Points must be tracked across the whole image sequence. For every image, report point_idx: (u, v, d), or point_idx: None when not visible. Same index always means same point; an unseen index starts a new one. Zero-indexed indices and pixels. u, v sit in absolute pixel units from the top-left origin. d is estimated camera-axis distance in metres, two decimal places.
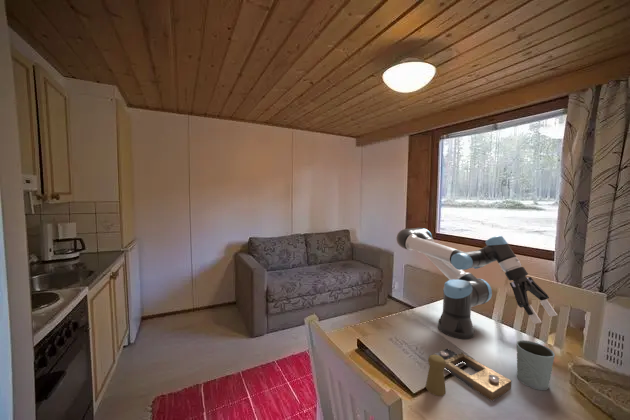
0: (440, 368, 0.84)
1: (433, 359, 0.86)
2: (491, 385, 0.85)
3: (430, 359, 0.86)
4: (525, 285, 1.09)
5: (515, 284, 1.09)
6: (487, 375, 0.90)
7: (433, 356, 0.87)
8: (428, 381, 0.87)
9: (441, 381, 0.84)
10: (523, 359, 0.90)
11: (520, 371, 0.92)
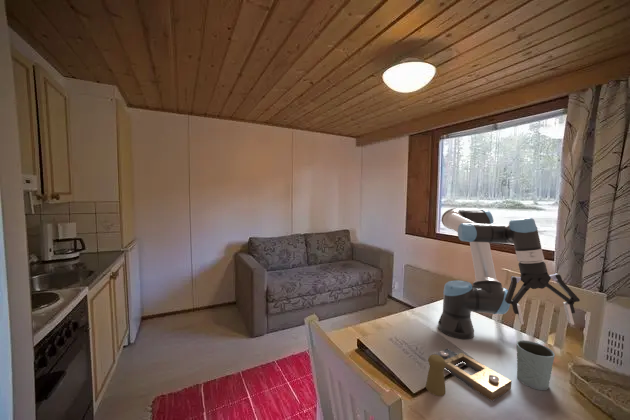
0: (440, 368, 0.84)
1: (433, 359, 0.86)
2: (491, 385, 0.85)
3: (430, 359, 0.86)
4: (529, 284, 0.92)
5: (512, 280, 0.95)
6: (487, 375, 0.90)
7: (433, 356, 0.87)
8: (428, 381, 0.87)
9: (441, 381, 0.84)
10: (523, 359, 0.90)
11: (520, 371, 0.92)
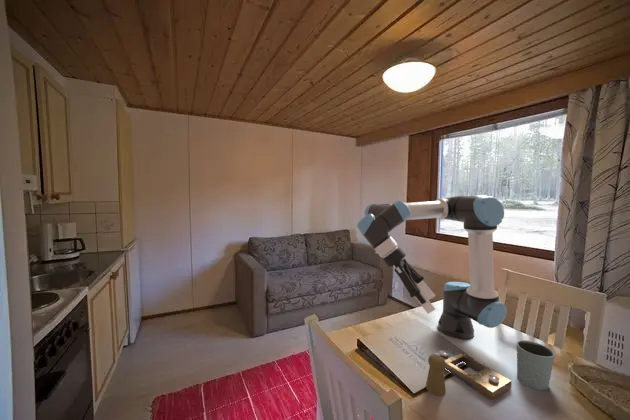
0: (440, 368, 0.84)
1: (433, 358, 0.86)
2: (491, 385, 0.85)
3: (430, 359, 0.86)
4: None
5: None
6: (487, 375, 0.90)
7: (433, 356, 0.87)
8: (428, 381, 0.87)
9: (441, 381, 0.84)
10: (523, 359, 0.90)
11: (520, 371, 0.92)
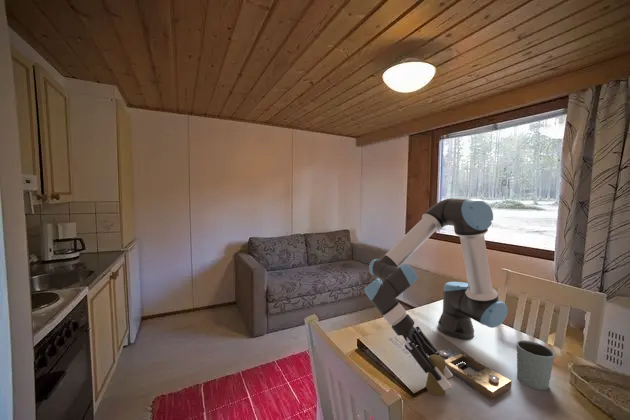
0: (440, 368, 0.84)
1: (433, 358, 0.86)
2: (491, 385, 0.85)
3: (430, 359, 0.86)
4: None
5: None
6: (487, 375, 0.90)
7: (433, 356, 0.87)
8: (428, 381, 0.87)
9: None
10: (523, 359, 0.90)
11: (520, 371, 0.92)
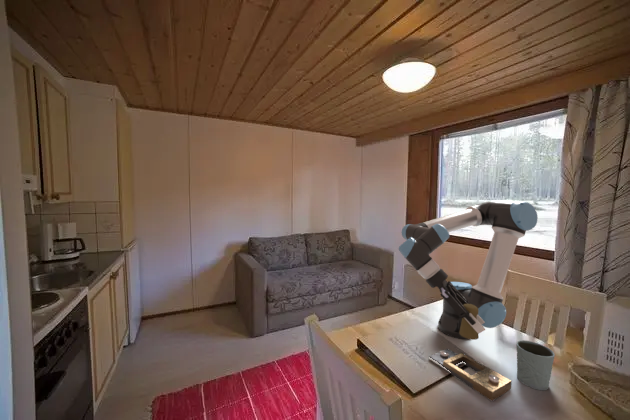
0: (474, 314, 0.91)
1: (466, 306, 0.93)
2: (491, 385, 0.85)
3: None
4: None
5: None
6: (487, 375, 0.90)
7: (466, 304, 0.94)
8: (462, 327, 0.94)
9: None
10: (523, 359, 0.90)
11: (520, 371, 0.92)
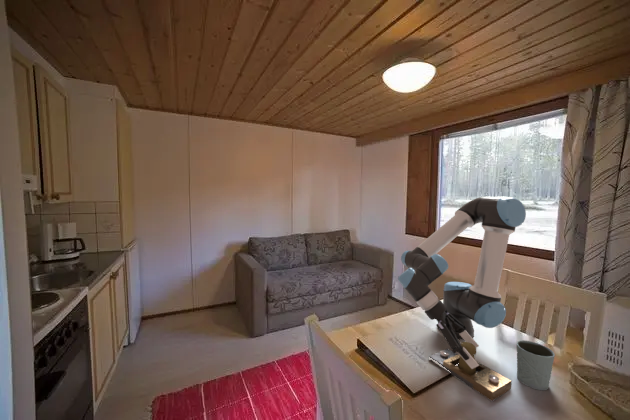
0: (472, 354, 0.92)
1: (464, 345, 0.94)
2: (491, 385, 0.85)
3: (462, 346, 0.94)
4: None
5: None
6: (487, 375, 0.90)
7: (464, 343, 0.95)
8: (460, 366, 0.95)
9: None
10: (523, 359, 0.90)
11: (520, 371, 0.92)
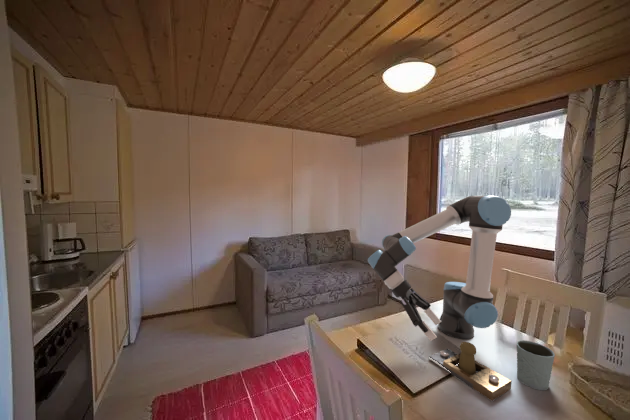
0: (472, 354, 0.92)
1: (464, 345, 0.94)
2: (491, 385, 0.85)
3: (462, 346, 0.94)
4: None
5: None
6: (487, 375, 0.90)
7: (464, 343, 0.95)
8: (460, 366, 0.95)
9: (472, 366, 0.93)
10: (523, 359, 0.90)
11: (520, 371, 0.92)
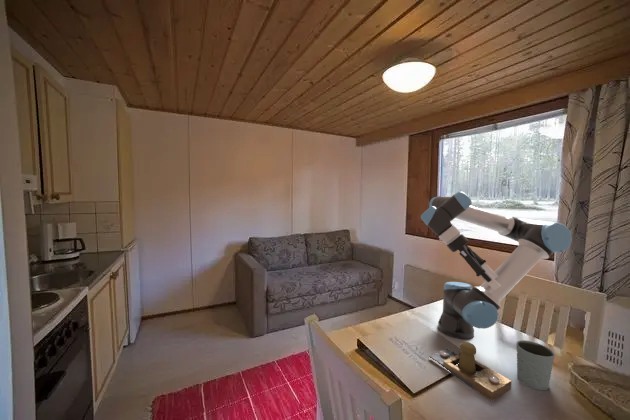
0: (472, 354, 0.92)
1: (464, 345, 0.94)
2: (491, 385, 0.85)
3: (462, 346, 0.94)
4: None
5: None
6: (487, 375, 0.90)
7: (464, 343, 0.95)
8: (460, 366, 0.95)
9: (472, 366, 0.93)
10: (523, 359, 0.90)
11: (520, 371, 0.92)
